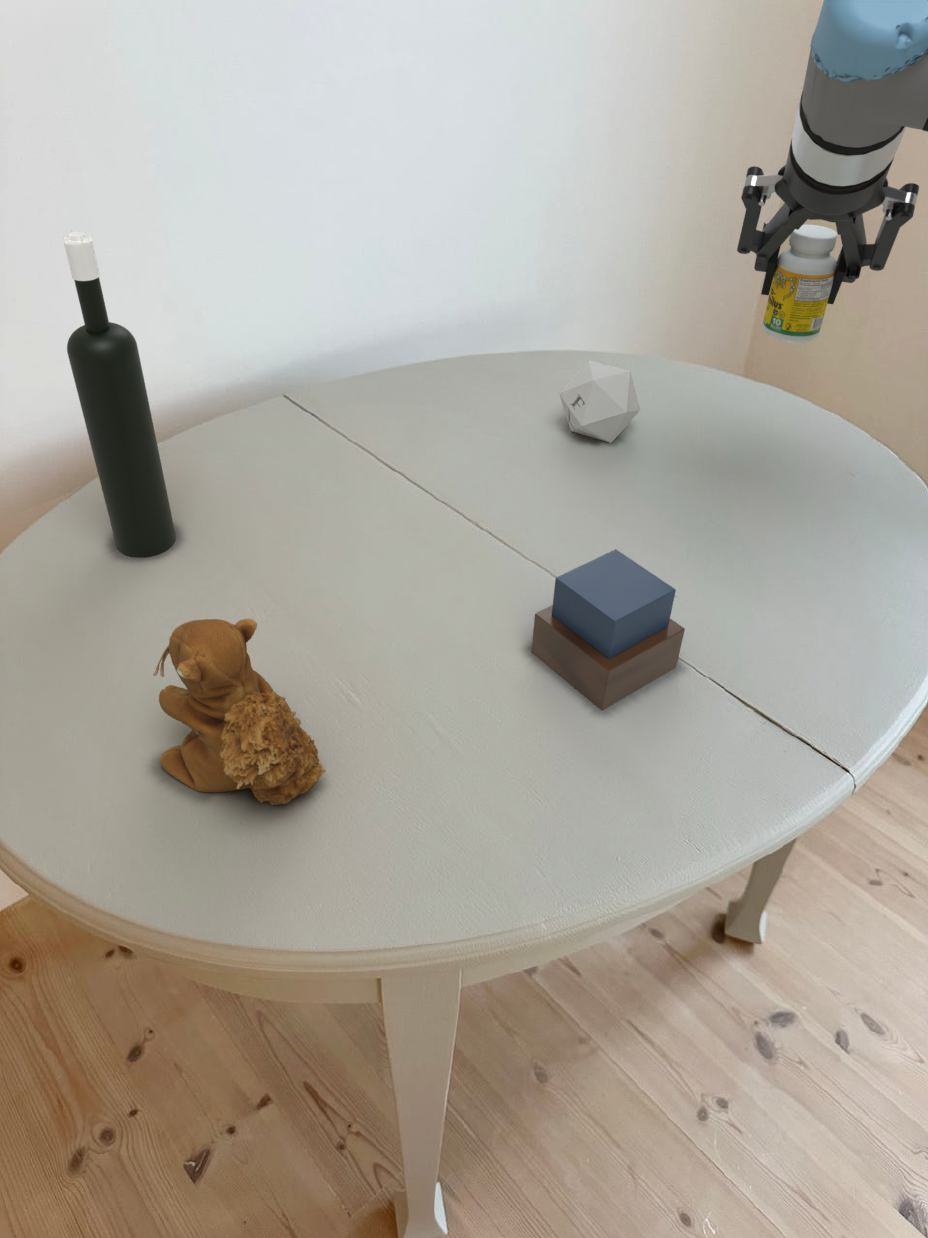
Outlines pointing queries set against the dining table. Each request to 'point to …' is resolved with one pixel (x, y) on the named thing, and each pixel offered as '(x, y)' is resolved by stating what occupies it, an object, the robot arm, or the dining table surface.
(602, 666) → the base block
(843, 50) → the robot arm
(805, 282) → the supplement bottle
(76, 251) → the wine bottle
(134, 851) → the dining table surface
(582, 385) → the die
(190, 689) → the stuffed squirrel
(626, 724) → the dining table surface
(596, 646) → the top block
